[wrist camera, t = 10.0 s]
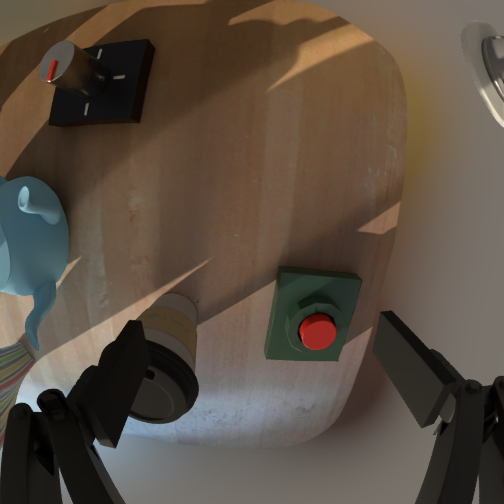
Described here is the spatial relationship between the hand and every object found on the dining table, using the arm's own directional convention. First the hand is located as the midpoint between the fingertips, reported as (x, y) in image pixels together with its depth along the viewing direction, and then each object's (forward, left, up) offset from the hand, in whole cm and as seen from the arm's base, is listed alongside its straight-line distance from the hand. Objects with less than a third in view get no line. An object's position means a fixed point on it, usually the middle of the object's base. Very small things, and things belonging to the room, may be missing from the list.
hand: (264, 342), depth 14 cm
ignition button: (-8, +8, -15) cm, 19 cm away
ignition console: (-8, +8, -19) cm, 22 cm away
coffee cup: (+9, +10, -19) cm, 23 cm away
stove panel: (+21, -18, -19) cm, 33 cm away
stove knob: (+21, -18, -16) cm, 32 cm away
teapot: (+30, +1, -19) cm, 35 cm away
